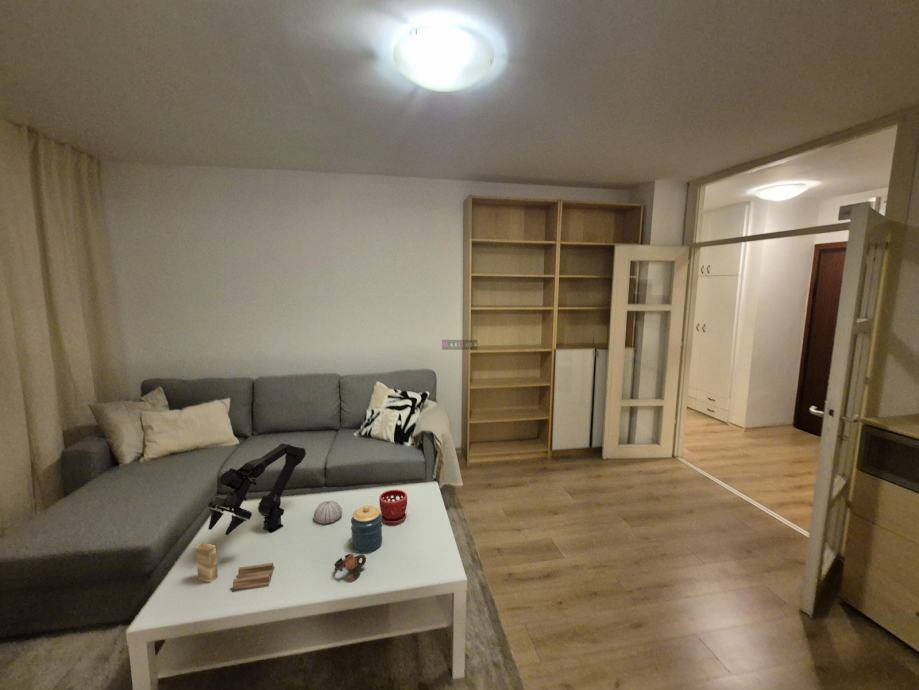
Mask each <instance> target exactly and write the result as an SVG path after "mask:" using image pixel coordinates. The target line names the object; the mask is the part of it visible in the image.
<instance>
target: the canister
mask: <svg viewBox="0 0 919 690" xmlns="http://www.w3.org/2000/svg"><path fill="white" fill-rule="evenodd" d="M382 521H383V520H382V513H381V510H380V508H378V507H376V506H373V505H367V504H366V505H364V506H360V507H359V508H357V509H355V511H354V512H353V514H352V516H351V518H350V523H351V526H350V529H351V547H352V549H353V551H355V552H358V553H360V554H368V553H373V552H374V551H376V550H378V549H379V548H380V547H381V546H382V542H383V533H382V532H383V530H382V527H383V523H382Z"/></svg>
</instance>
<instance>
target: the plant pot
mask: <svg viewBox="0 0 919 690" xmlns="http://www.w3.org/2000/svg"><path fill="white" fill-rule="evenodd" d="M392 496H393V497H392ZM397 497H398V498H399V500H398V499H397ZM393 500H394V501H393ZM378 501H379V511H380V514H381V515H382V520H381V521H383V522H384V523H385V524H388V525H396V524H400V523H402V522H403V521H404V520H405V519H406V516H407V513H406V511H407V506H408V494H407V492H405V491H404V490H402V489H390V490H385V491H384V492H382V493H381V494H380V495H379V499H378Z"/></svg>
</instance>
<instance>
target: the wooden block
mask: <svg viewBox="0 0 919 690" xmlns="http://www.w3.org/2000/svg"><path fill="white" fill-rule="evenodd" d="M195 554H196V555H195V556H196V567H197V568H196V569H197V580H199V581H203V582H207V583H210V584H211V583H212V582H214V581H215V580H216V579H218V578H219V575H218V573H219V572H218V563H217V562H218V561H217V550H216V545H214V544H210V543H209V544H208V543H206V542H202V543H200V544H199V545H197V546H196V547H195Z"/></svg>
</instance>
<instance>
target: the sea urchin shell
mask: <svg viewBox="0 0 919 690" xmlns="http://www.w3.org/2000/svg"><path fill="white" fill-rule="evenodd" d="M342 515H343V508H342V507H341V505H340V504H339V503H338V502H337V501H334V500H324V501H322V502H321V503H320V504H318V506H317V507H316V508H315V510H314V512H313V517H312V518H313V519H314V521H316V522H318V523H320V524H329V523H334V522H336V521H338V519H340V518H341V517H342Z"/></svg>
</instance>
